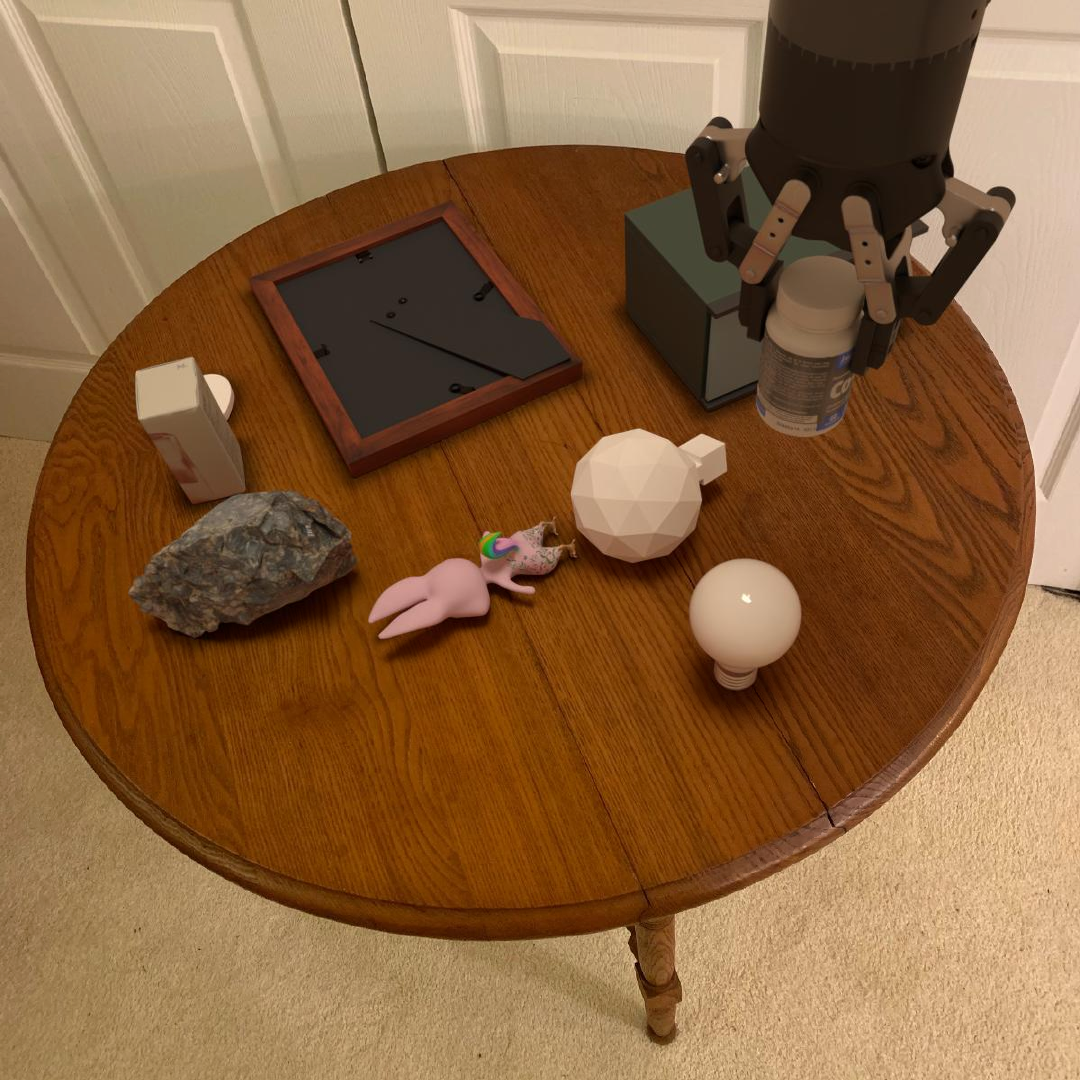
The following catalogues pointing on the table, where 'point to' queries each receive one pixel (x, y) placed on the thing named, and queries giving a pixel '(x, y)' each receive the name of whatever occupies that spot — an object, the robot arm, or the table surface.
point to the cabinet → (696, 280)
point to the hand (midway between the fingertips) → (812, 345)
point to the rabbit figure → (467, 581)
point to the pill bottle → (810, 346)
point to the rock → (244, 562)
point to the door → (730, 356)
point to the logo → (221, 392)
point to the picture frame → (411, 335)
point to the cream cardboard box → (189, 430)
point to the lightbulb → (744, 618)
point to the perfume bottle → (643, 492)
